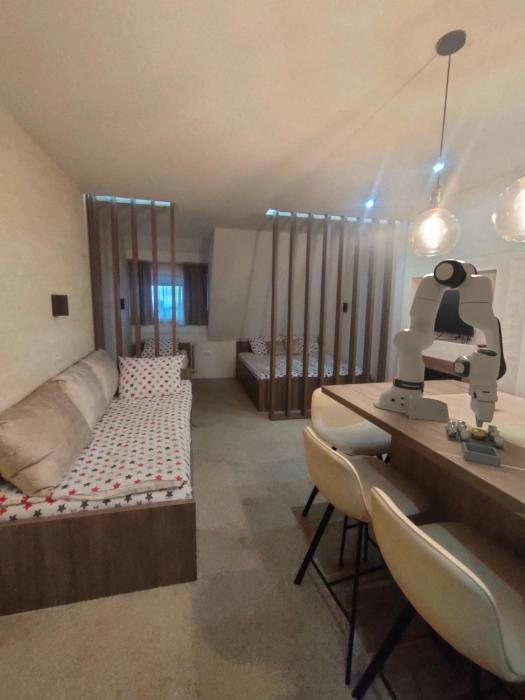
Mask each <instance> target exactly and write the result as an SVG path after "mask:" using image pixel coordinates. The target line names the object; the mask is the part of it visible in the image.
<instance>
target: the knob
mask: <svg viewBox="0 0 525 700" xmlns="http://www.w3.org/2000/svg"><path fill="white" fill-rule="evenodd" d="M470 431H471V438H472V439H475V440H479V441H484V440H485V435H486V433H487V431H486V430H484V429H481V428H471V430H470Z"/></svg>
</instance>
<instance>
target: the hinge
mask: <svg viewBox="0 0 525 700" xmlns="http://www.w3.org/2000/svg"><path fill="white" fill-rule="evenodd" d="M448 407H449V406H448V404H447V402H444V401H441V400H439V399H435V398H430V397H423V398H416V399H411V400H410V401H409V404H408V410H407V414H406V416H408V419H409V418H411V420H417V419H418V420H424V421H425V420H427V421H428V420H429V421H434V422H435V421H436V422H442V423H443V422H444V423H448V421H451V420H450V419H451V418H450V415H449V408H448Z"/></svg>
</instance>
